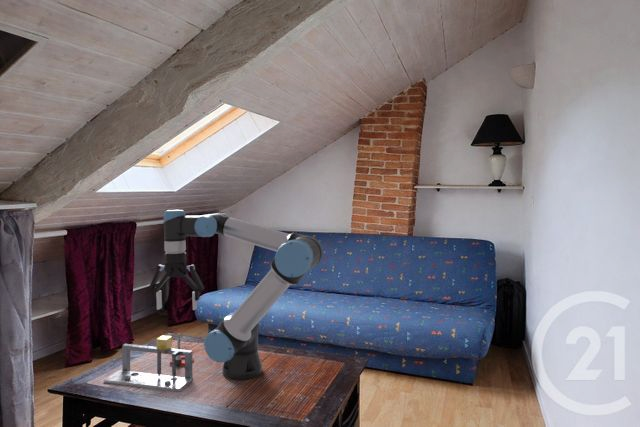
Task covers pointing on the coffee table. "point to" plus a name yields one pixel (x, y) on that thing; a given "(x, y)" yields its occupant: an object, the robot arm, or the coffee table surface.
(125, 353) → the dividers beam
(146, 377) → the flange plate
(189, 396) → the coffee table surface
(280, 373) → the coffee table surface
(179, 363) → the tow hook
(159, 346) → the slider block
